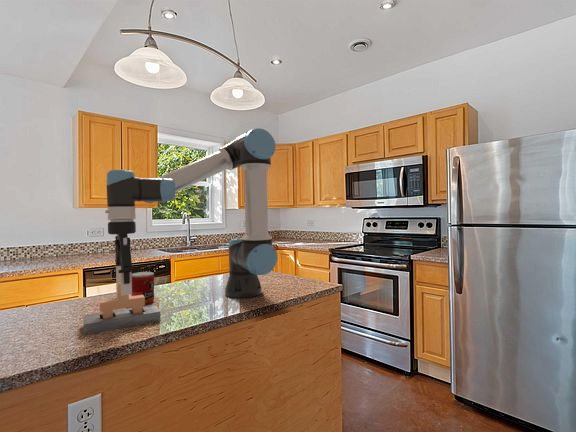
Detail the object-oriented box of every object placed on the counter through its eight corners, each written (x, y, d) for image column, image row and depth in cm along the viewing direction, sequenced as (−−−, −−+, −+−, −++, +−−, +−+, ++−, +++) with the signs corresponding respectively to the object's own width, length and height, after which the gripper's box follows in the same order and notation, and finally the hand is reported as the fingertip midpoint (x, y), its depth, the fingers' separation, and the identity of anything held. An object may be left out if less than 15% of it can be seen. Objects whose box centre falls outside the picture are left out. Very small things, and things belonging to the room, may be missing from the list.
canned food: (145, 306, 114) (145, 275, 114) (126, 304, 115) (126, 275, 115) (158, 300, 121) (158, 272, 121) (140, 299, 123) (140, 271, 123)
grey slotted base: (154, 313, 105) (154, 304, 105) (160, 320, 98) (160, 311, 98) (83, 325, 94) (83, 315, 94) (84, 335, 86) (84, 324, 86)
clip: (143, 317, 101) (142, 279, 100) (145, 320, 98) (144, 281, 98) (99, 325, 94) (99, 284, 94) (100, 329, 91) (99, 286, 91)
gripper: (104, 220, 104) (106, 284, 104) (111, 222, 83) (113, 301, 83) (129, 220, 108) (131, 281, 108) (142, 221, 87) (144, 296, 88)
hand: (123, 290), depth 96 cm, fingers open, 13 cm apart
